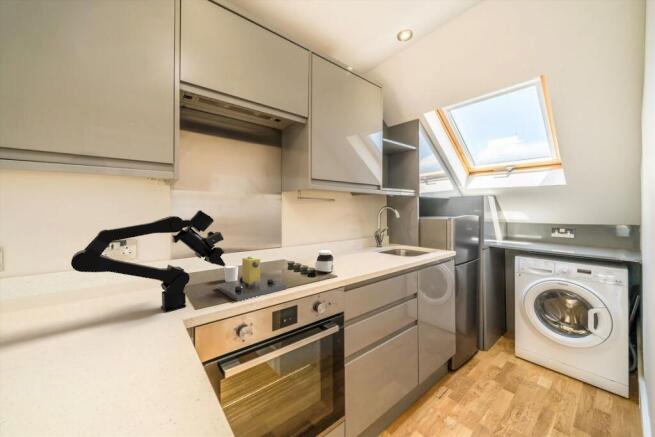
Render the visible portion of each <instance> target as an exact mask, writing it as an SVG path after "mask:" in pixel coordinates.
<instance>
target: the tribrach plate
mask: <svg viewBox="0 0 655 437" xmlns="http://www.w3.org/2000/svg"><path fill="white" fill-rule="evenodd" d="M216 288H217V290H218V291H220V292H221V293H223V294H225V295H226V296H227V297H229V298H231V299H232V300H234V301H236V303H237V302H238V301H239V302H242V300H243V301H245V299H246V300H249V299H248V298H250V299H253V298H252V297H254V298H256V296H258V297H260V295H262V296H265V295H270V294H272V293H276V292H280V291H284V290H286V289H287V284H286V283H283V282H282V281H281V282H280V281H277V280H275V278H270V277H269V276H265V275H261V274H260V281H259V280H258V281H254V284H253V283H251V284H249V283H247V282H245V281H243V275H242V276H240V277H239V279H237V280H236V281H231V282H226V281H225V282H223V283H217V284H216ZM264 294H265V295H264Z"/></svg>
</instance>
